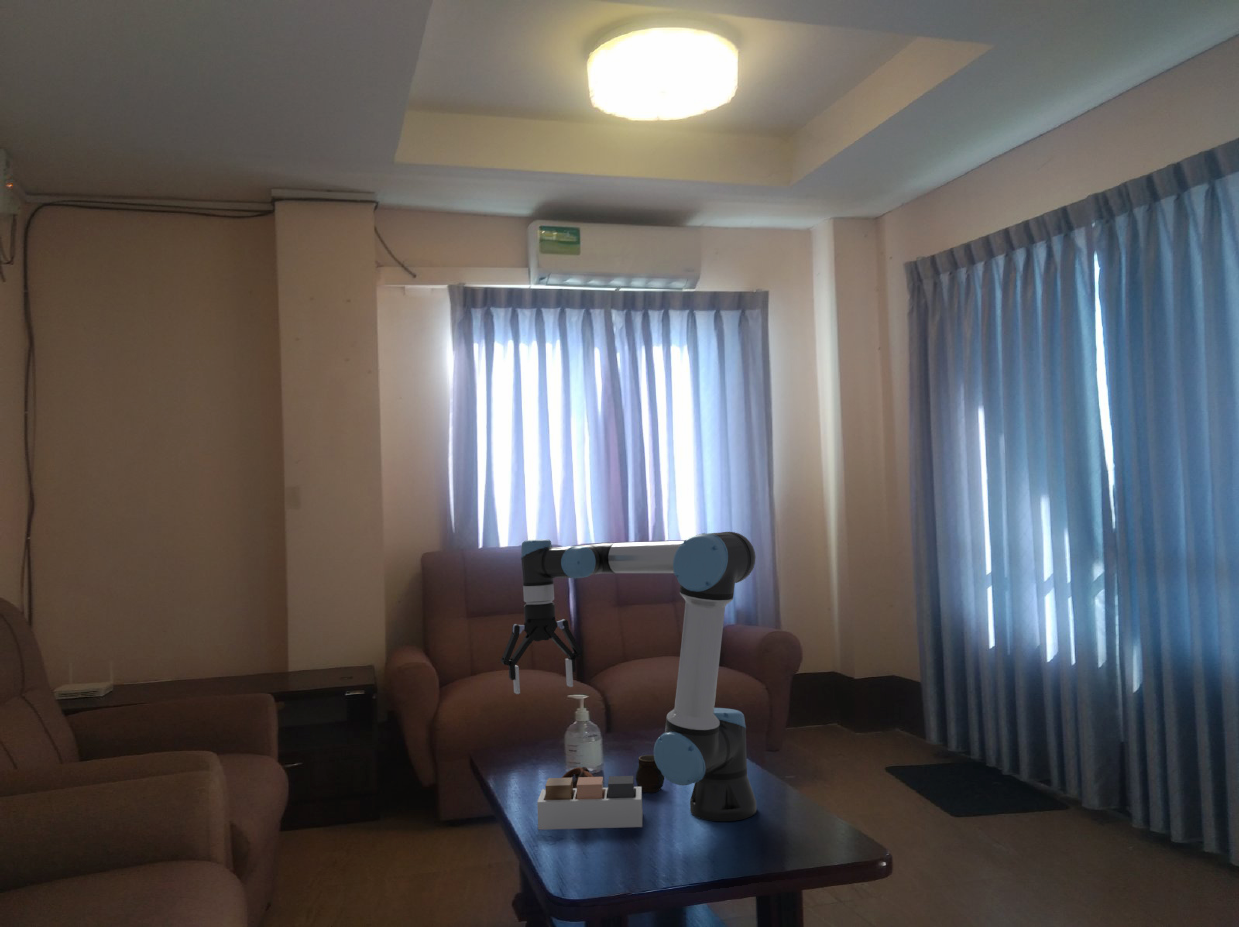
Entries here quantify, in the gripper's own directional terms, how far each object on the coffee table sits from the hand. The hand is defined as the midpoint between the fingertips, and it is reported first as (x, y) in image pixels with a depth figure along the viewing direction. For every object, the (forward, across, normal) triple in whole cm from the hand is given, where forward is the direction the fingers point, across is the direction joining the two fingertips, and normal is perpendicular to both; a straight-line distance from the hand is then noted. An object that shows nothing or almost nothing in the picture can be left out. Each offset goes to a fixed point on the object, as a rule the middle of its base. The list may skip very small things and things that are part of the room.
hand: (543, 689), depth 223 cm
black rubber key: (+23, -10, +22) cm, 33 cm away
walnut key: (+23, +3, +16) cm, 28 cm away
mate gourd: (+27, -25, +6) cm, 37 cm away
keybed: (+27, -4, +19) cm, 33 cm away
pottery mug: (+27, -8, +2) cm, 28 cm away
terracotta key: (+23, -4, +19) cm, 30 cm away
